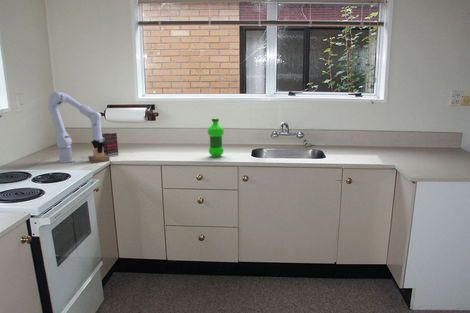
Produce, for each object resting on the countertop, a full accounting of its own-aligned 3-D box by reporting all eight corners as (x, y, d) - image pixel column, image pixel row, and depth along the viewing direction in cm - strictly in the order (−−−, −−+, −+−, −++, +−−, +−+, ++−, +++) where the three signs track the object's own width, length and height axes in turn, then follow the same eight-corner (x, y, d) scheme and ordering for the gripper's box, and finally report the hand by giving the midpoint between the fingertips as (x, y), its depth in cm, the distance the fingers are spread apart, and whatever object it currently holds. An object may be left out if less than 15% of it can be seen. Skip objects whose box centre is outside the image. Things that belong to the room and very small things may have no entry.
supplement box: (115, 154, 270) (113, 132, 267) (118, 155, 267) (116, 132, 264) (103, 156, 264) (101, 133, 261) (106, 157, 261) (104, 133, 258)
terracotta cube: (93, 156, 249) (92, 148, 248) (101, 155, 252) (100, 147, 251) (95, 157, 245) (95, 149, 244) (103, 156, 248) (103, 148, 247)
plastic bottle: (206, 157, 254) (204, 119, 249) (212, 154, 264) (211, 117, 259) (220, 158, 251) (219, 119, 246) (226, 155, 260) (225, 118, 256)
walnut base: (88, 160, 250) (88, 156, 249) (104, 158, 256) (104, 154, 255) (93, 163, 242) (93, 158, 241) (109, 161, 248) (109, 156, 247)
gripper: (106, 131, 242) (108, 153, 244) (99, 129, 253) (101, 150, 256) (95, 132, 238) (97, 154, 240) (88, 130, 249) (90, 151, 252)
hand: (98, 152), depth 248 cm, fingers open, 5 cm apart
